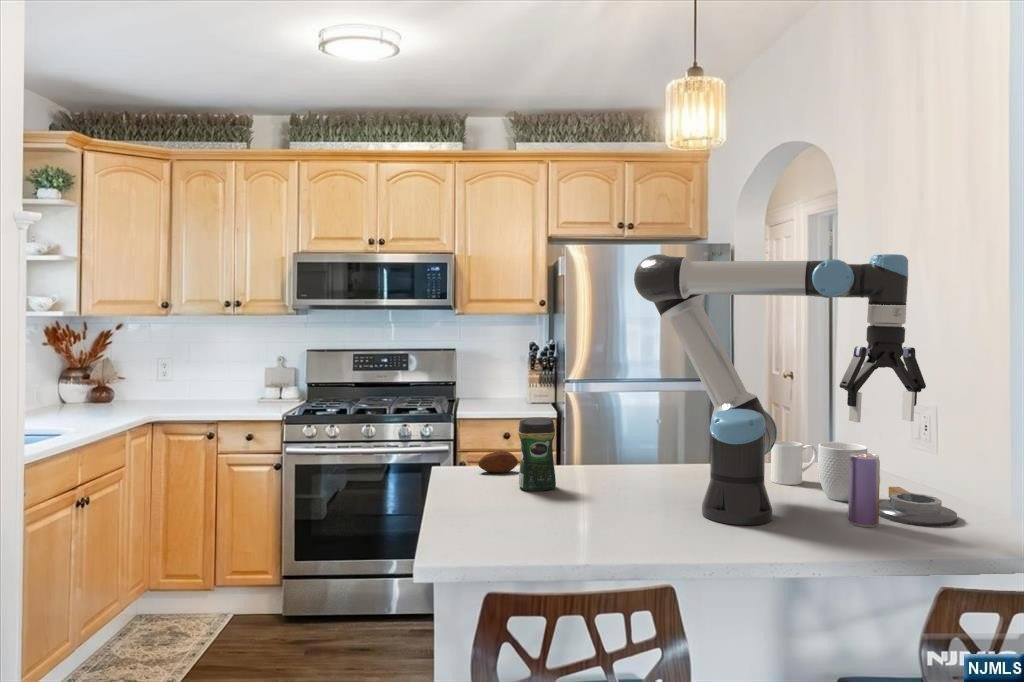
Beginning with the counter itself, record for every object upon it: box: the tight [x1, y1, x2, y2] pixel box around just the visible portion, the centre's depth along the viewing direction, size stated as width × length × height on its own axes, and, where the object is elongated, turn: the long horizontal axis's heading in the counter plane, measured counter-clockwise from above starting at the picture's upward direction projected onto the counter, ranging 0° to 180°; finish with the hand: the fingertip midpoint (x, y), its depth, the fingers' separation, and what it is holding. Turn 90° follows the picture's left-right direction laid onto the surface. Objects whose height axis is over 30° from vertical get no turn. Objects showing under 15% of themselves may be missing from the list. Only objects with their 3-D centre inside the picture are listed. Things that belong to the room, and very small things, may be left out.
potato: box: [477, 449, 519, 474], centre depth 209 cm, size 6×12×6 cm, turn 101°
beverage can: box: [847, 452, 881, 528], centre depth 158 cm, size 6×6×15 cm
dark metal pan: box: [879, 486, 958, 528], centre depth 165 cm, size 16×19×4 cm
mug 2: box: [817, 441, 868, 502], centre depth 178 cm, size 15×11×13 cm
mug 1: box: [770, 440, 818, 486], centre depth 197 cm, size 12×8×10 cm, turn 96°
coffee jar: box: [517, 416, 557, 492], centre depth 190 cm, size 10×8×19 cm
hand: (881, 421), depth 161 cm, fingers open, 13 cm apart
